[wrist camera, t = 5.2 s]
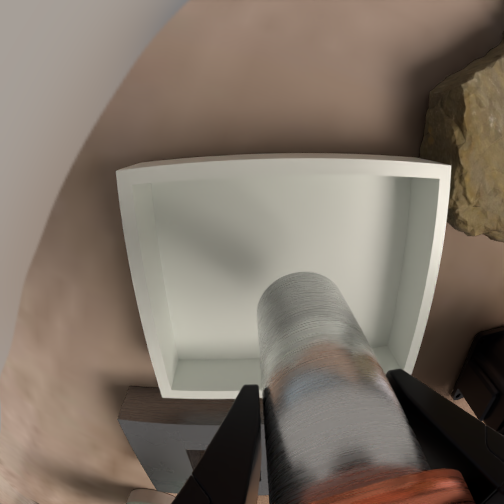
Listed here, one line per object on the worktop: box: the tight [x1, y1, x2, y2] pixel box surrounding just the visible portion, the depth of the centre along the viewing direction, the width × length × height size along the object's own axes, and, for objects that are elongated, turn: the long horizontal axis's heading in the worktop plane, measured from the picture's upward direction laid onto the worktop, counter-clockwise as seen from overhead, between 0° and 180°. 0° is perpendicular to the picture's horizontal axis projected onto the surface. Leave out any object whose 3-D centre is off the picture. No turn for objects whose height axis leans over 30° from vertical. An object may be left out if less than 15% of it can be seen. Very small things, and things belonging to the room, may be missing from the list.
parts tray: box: [116, 153, 451, 399], centre depth 14 cm, size 13×11×3 cm
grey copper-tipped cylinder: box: [257, 272, 475, 504], centre depth 8 cm, size 4×4×9 cm
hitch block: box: [118, 386, 269, 495], centre depth 19 cm, size 12×10×3 cm
